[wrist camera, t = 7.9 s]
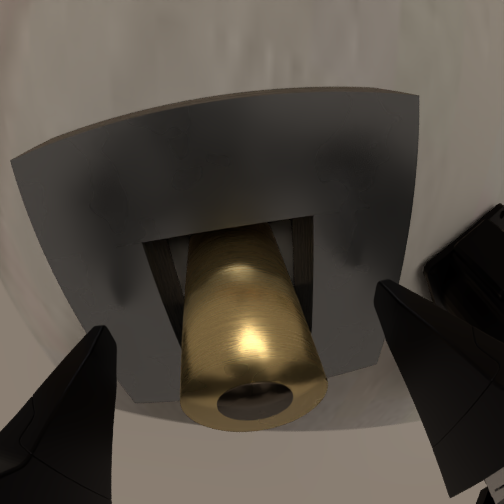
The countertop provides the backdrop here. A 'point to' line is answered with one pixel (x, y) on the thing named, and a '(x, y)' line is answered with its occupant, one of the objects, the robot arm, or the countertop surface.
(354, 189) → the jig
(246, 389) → the bushing
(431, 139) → the countertop surface
